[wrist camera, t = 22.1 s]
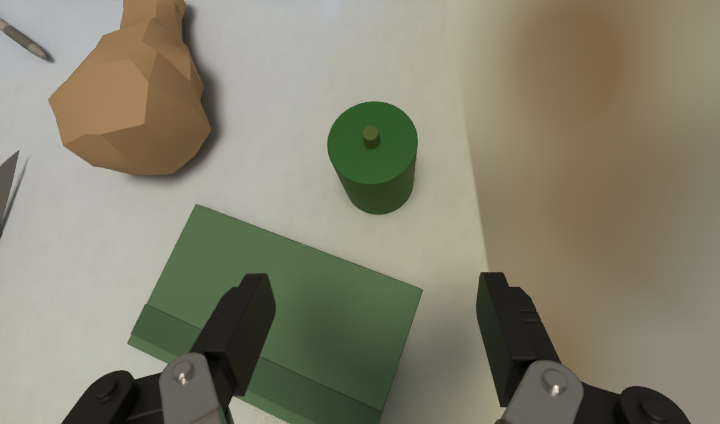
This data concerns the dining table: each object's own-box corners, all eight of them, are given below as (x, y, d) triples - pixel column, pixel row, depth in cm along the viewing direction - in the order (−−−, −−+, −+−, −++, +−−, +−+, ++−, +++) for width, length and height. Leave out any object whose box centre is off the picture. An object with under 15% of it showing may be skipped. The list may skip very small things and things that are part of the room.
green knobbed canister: (422, 161, 29) (431, 104, 20) (399, 224, 28) (399, 190, 19) (359, 142, 30) (343, 80, 21) (335, 201, 29) (308, 160, 20)
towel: (422, 289, 26) (423, 289, 25) (366, 457, 24) (365, 461, 23) (199, 205, 30) (194, 203, 29) (132, 342, 28) (125, 343, 27)
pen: (-18, 5, 39) (-33, -6, 38) (58, 59, 36) (44, 49, 34) (-25, 11, 39) (-40, 1, 38) (51, 66, 36) (37, 57, 34)
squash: (123, 207, 31) (-1, 160, 23) (143, 45, 39) (55, -33, 31) (227, 173, 29) (129, 108, 20) (226, 8, 36) (155, -87, 28)
